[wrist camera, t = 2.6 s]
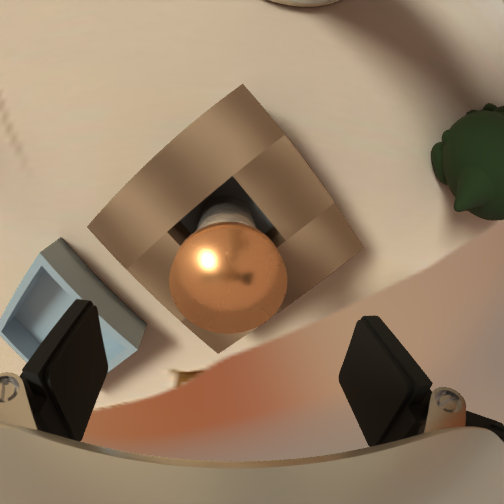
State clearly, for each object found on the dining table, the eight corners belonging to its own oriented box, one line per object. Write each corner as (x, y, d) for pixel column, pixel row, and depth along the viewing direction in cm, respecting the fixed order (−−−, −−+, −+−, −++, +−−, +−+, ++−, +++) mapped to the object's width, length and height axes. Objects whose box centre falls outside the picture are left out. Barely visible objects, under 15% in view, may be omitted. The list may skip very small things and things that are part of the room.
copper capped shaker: (230, 173, 22) (236, 202, 12) (272, 224, 23) (309, 290, 13) (179, 217, 23) (145, 279, 12) (222, 263, 24) (223, 350, 14)
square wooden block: (238, 96, 21) (242, 83, 16) (339, 227, 25) (363, 247, 20) (112, 209, 23) (86, 226, 18) (218, 318, 28) (218, 353, 23)
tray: (61, 237, 23) (39, 252, 20) (147, 324, 27) (138, 349, 23) (11, 311, 25) (-6, 329, 22) (81, 378, 29) (70, 400, 26)
